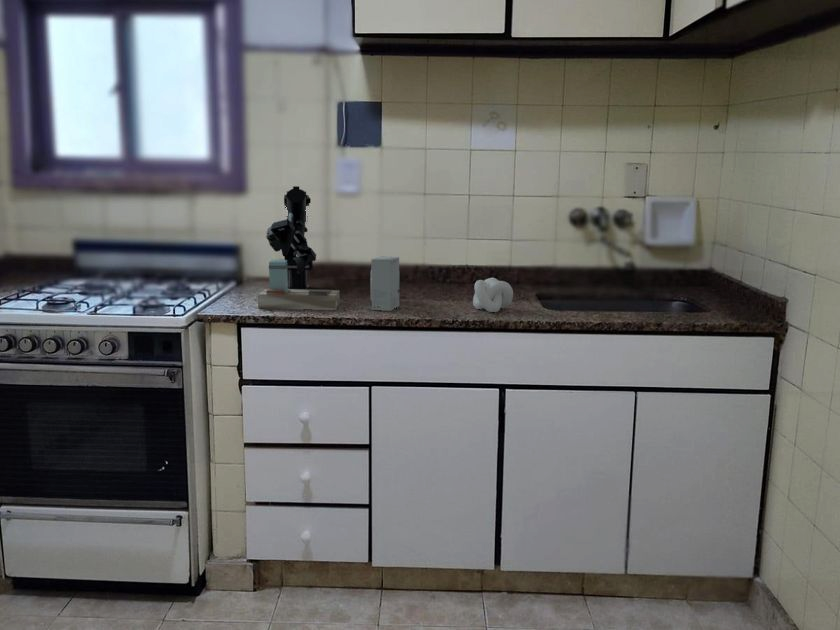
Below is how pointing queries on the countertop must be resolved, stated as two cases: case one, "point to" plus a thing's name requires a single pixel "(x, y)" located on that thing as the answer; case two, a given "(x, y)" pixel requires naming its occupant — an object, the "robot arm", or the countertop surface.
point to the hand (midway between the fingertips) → (292, 264)
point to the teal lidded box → (278, 275)
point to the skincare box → (385, 283)
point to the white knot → (492, 294)
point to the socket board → (299, 299)
